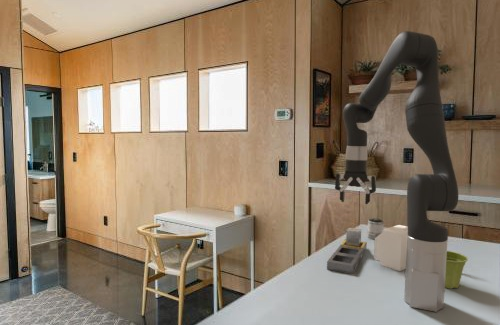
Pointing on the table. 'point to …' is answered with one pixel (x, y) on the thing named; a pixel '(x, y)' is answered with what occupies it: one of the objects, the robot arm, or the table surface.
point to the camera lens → (375, 228)
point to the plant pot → (454, 269)
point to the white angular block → (392, 247)
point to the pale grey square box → (353, 237)
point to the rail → (346, 258)
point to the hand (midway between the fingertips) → (354, 202)
